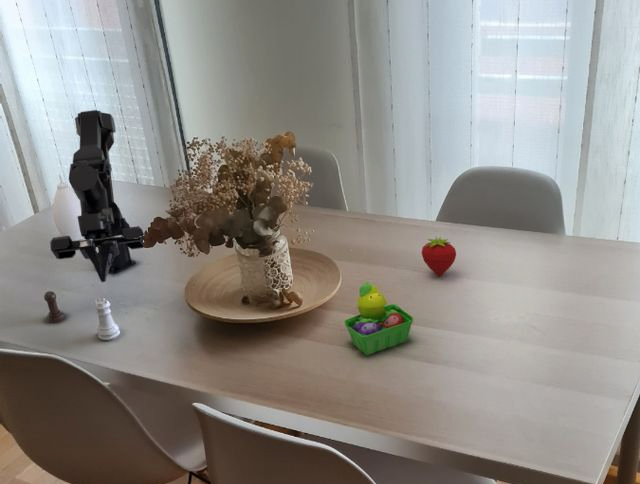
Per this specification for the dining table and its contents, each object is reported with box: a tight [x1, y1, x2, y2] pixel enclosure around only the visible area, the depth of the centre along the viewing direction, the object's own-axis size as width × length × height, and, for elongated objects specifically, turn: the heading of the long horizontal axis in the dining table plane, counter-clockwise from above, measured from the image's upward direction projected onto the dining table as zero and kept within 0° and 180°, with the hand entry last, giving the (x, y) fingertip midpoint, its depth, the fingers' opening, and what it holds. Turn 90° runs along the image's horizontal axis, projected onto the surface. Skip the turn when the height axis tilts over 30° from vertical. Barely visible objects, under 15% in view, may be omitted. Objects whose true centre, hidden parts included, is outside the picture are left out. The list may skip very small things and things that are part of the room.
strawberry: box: [421, 236, 457, 277], centre depth 183 cm, size 6×8×10 cm
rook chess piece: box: [93, 297, 121, 342], centre depth 173 cm, size 4×4×8 cm
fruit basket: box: [343, 282, 414, 356], centre depth 161 cm, size 11×9×11 cm
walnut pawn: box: [43, 290, 65, 324], centre depth 182 cm, size 3×3×6 cm
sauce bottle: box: [52, 173, 84, 241], centre depth 213 cm, size 8×8×18 cm
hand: (103, 281), depth 178 cm, fingers closed
